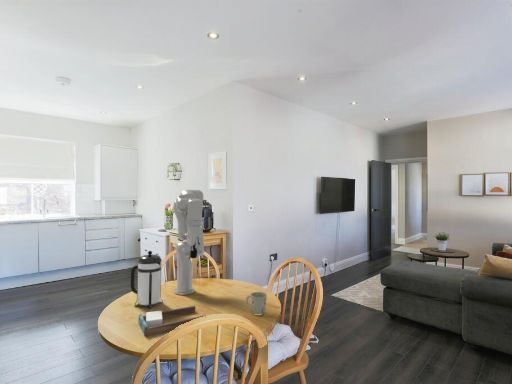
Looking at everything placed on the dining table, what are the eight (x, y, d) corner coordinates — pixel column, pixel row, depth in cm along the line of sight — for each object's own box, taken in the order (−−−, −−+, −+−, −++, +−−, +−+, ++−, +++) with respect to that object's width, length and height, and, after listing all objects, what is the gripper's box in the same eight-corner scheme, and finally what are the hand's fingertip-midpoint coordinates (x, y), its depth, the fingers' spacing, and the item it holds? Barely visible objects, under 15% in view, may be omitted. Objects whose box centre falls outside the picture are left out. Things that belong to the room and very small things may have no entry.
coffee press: (161, 297, 171) (163, 247, 171) (163, 307, 156) (164, 252, 156) (130, 301, 165) (131, 248, 165) (128, 311, 150) (130, 254, 150)
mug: (261, 318, 144) (261, 298, 145) (240, 312, 151) (241, 293, 151) (269, 312, 152) (269, 294, 152) (249, 307, 158) (249, 289, 158)
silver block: (145, 322, 138) (146, 312, 138) (161, 320, 140) (161, 310, 140) (145, 332, 129) (146, 321, 129) (162, 329, 131) (162, 318, 131)
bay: (138, 322, 137) (138, 314, 137) (194, 311, 152) (194, 303, 152) (144, 336, 124) (144, 327, 124) (205, 322, 139) (205, 313, 139)
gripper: (183, 221, 155) (182, 255, 156) (191, 225, 142) (191, 261, 143) (196, 221, 159) (195, 254, 159) (206, 224, 146) (205, 260, 146)
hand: (193, 257), depth 151 cm, fingers closed
